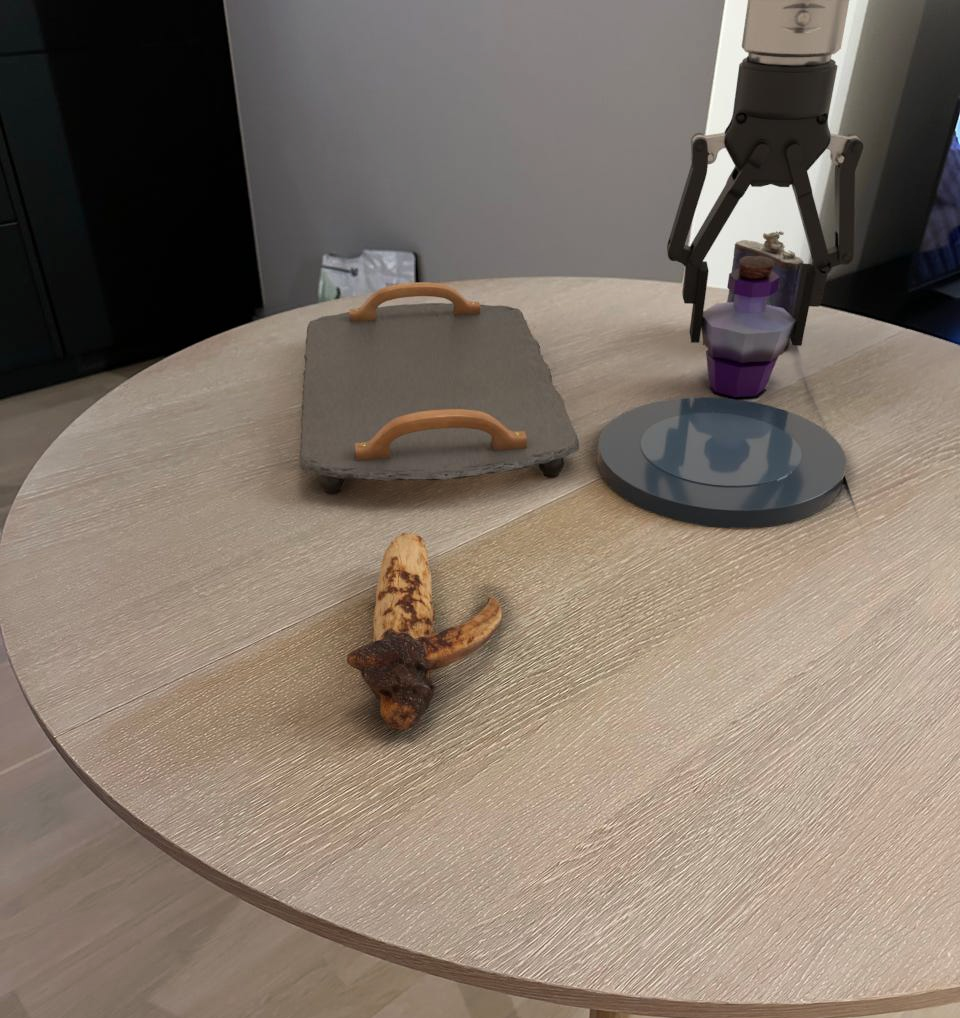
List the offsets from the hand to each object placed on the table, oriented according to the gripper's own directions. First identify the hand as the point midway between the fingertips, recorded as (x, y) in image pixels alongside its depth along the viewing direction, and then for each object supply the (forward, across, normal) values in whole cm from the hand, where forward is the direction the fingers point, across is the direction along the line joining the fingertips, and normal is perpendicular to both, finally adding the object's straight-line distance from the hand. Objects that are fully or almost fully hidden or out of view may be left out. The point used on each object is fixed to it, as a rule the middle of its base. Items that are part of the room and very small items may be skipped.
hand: (744, 338), depth 89 cm
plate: (+5, -3, -16) cm, 17 cm away
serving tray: (+5, -29, -6) cm, 30 cm away
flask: (+5, +3, +13) cm, 15 cm away
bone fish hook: (+5, -23, -42) cm, 48 cm away
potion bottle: (+5, 0, 0) cm, 5 cm away
